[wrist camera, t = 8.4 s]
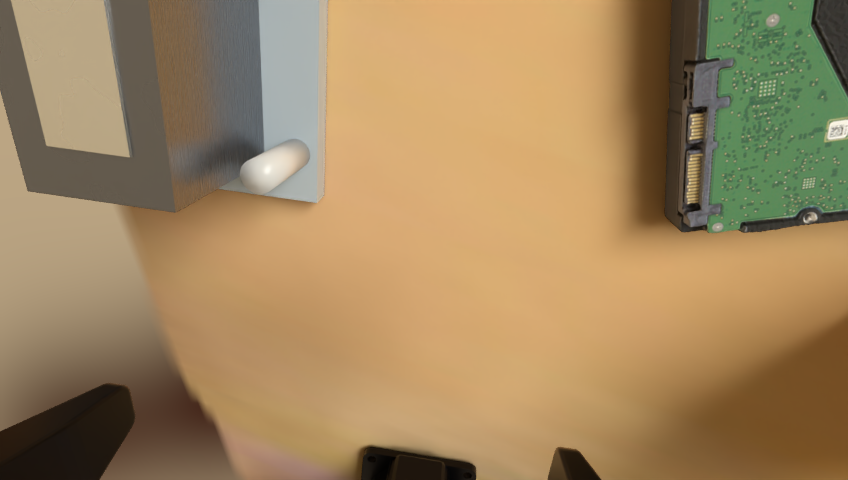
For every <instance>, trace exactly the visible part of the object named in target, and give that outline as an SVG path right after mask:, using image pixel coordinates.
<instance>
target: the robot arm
mask: <svg viewBox="0 0 848 480" xmlns="http://www.w3.org/2000/svg"><path fill="white" fill-rule="evenodd" d="M134 420H135V410H134V406H133V401H132V397H131V392H130V389H129V388H128V387H127V386H125V385H120V384H113V383H107V384H103V385H101V386H99V387H97V388H95V389H92V390H91V391H88V392H86V393H84V394H81V395H79V396H77V397H75V398H73V399H70V400H68V401H66V402H64V403H62V404H60V405H57V406H55V407H53V408H51V409H49V410H46V411H44V412H42V413H40V414H38V415H35V416H33V417H31V418H29V419H27V420H24V421H22V422H20V423H18V424H16V425H13V426H11V427H9V428H7V429H5V430H2V431H0V480H100V478H101V476H102V475H103V473H104V471H105V470H106V468H107V467H108V465H109V463H110V462H111V460H112V458H113V457H114V455H115V454H116V452H117V450H118V449H119V447H120V446H121V444H122V442H123V441H124V439H125V437H126V436H127V434H128V432H129V431H130V429H131V428H132V426H133V423H134ZM361 480H476V467H475V466H474V465H472V464H470V463H465V462H459V461H453V460H447V459H441V458H435V457H429V456H423V455H417V454H411V453H405V452H399V451H393V450H387V449H381V448H375V447H370V448H367V449H366V450H365V453H364V457H363V466H362V479H361ZM548 480H601V478H600V477H599V476H598V475H597V473H596V472H595V471H594V469H593V468H592V467H591V466H590V464H589V463H588V462H587V460H586V459H585V458H584V457H583V455H582V454H581V453H580V452H579V451H578V450H576V449H571V448H564V447H558V448H557V449H556V450H555V453H554V457H553V460H552V464H551V468H550V471H549V475H548Z"/></svg>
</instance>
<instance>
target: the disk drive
mask: <svg viewBox="0 0 848 480" xmlns="http://www.w3.org/2000/svg"><path fill="white" fill-rule="evenodd" d="M669 82H670V92H669V110H668V127H667V164H666V194H665V217H666V218H667V219H668V220H670V221H671V222H672V224H674V225H675V226H676V227H677V228H678V229H679V230H680V231H682V232H690V231H698V230H706V231H707V232H708V233H719V232H724V231H732V230H739V231H741V232H744V233H746V232H761V231H767V230H776V229H780V228H786V227H792V226H800V225H805V224H806V225H810V224H814V223H828V222H836V221H844V220H848V0H672V11H671V39H670V67H669Z"/></svg>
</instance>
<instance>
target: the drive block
mask: <svg viewBox="0 0 848 480" xmlns="http://www.w3.org/2000/svg"><path fill="white" fill-rule="evenodd" d="M0 91H1V95H2V98H3V102H4V106H5V109H6V113H7V117H8V120H9V124H10V128H11V131H12V135H13V139H14V142H15V146H16V149H17V153H18V157H19V160H20V164H21V168H22V171H23V175H24V179H25V183H26V186H27V190H28V191H30V192H37V193H44V194H51V195H58V196H65V197H71V198H79V199H85V200H93V201H99V202H106V203H113V204H120V205H127V206H134V207H141V208H147V209H154V210H161V211H168V212H175V213H176V212H178V211H179V210H181V209H183V208H185V207H186V206H188V205H190V204H192V203H194V202H195V201H197V200H199V199H201V198H202V197H204V196H206V195H208V194H209V193H211V192H213V191H215V190H216V189H218V188H220V187H222V186H224V185H225V184H227V183H229V182H231V181H232V180H234V179H236V178H238V177H239V176H240V170H241V167H242V165H243V164H244V163H245V162H246V161H248V160H250V159H252V158H254V157H256V156H258V155H260V154H262V153H264V129H263V103H262V78H261V52H260V26H259V0H0Z"/></svg>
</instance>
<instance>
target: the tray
mask: <svg viewBox="0 0 848 480" xmlns="http://www.w3.org/2000/svg"><path fill="white" fill-rule="evenodd" d="M327 19H328V0H259V26H260V52H261V78H262V103H263V129H264V153H262V154H260V155H258V156H256V157H254V158H252V159H250V160H248V161H246V162H245V163H244V164H243V165H242V167H241V170H240V176H239V177H238V178H236V179H234V180H232V181H231V182H229V183H227V184H225V185H224V186H222V187H220V188H218V189H222V190H230V191H237V192H244V193H251V194H258V195H265V196H272V197H279V198H286V199H293V200H300V201H307V202H314V203H317V202H318V201H319V200H320V199H321V198H322V197H323V196H324V175H325V123H326V71H327Z"/></svg>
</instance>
